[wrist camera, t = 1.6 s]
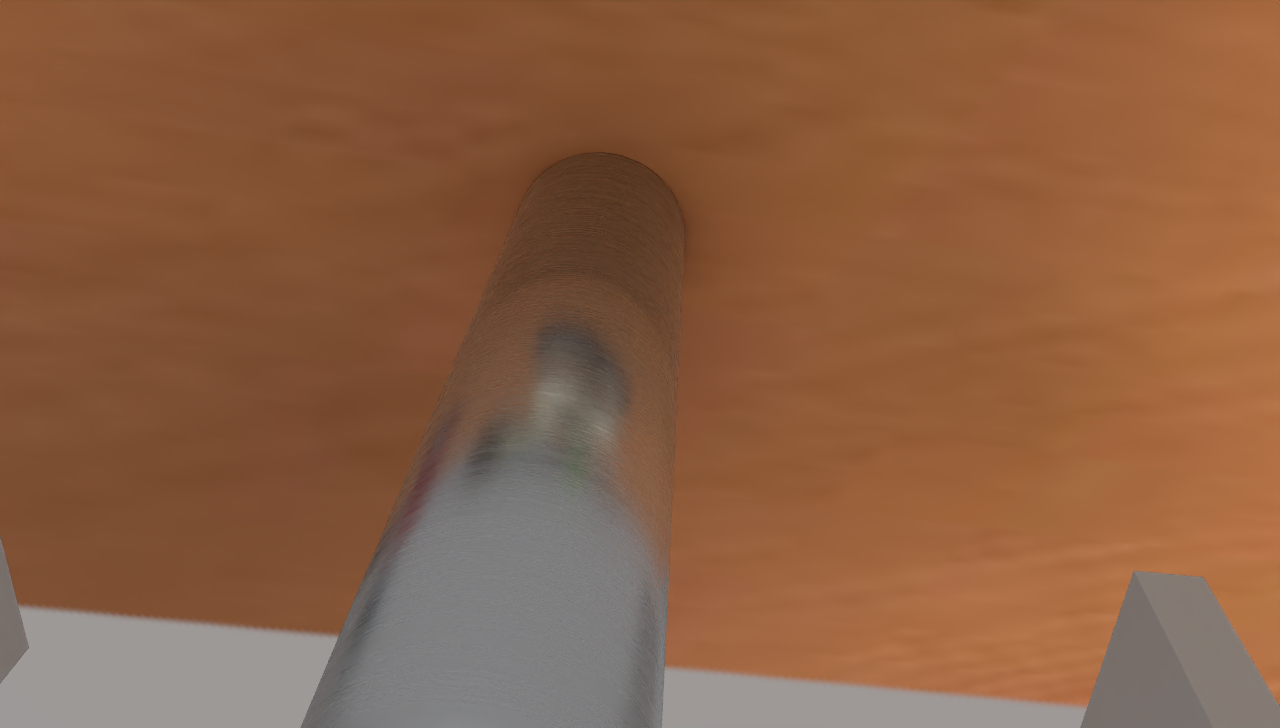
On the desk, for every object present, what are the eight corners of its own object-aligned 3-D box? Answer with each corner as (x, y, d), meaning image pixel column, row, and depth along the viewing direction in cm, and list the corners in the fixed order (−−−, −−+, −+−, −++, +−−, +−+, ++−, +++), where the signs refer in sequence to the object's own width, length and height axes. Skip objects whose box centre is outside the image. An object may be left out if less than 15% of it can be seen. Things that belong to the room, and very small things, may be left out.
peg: (516, 303, 24) (286, 955, 11) (517, 146, 23) (250, 689, 9) (678, 316, 24) (643, 986, 11) (691, 159, 22) (670, 725, 9)
